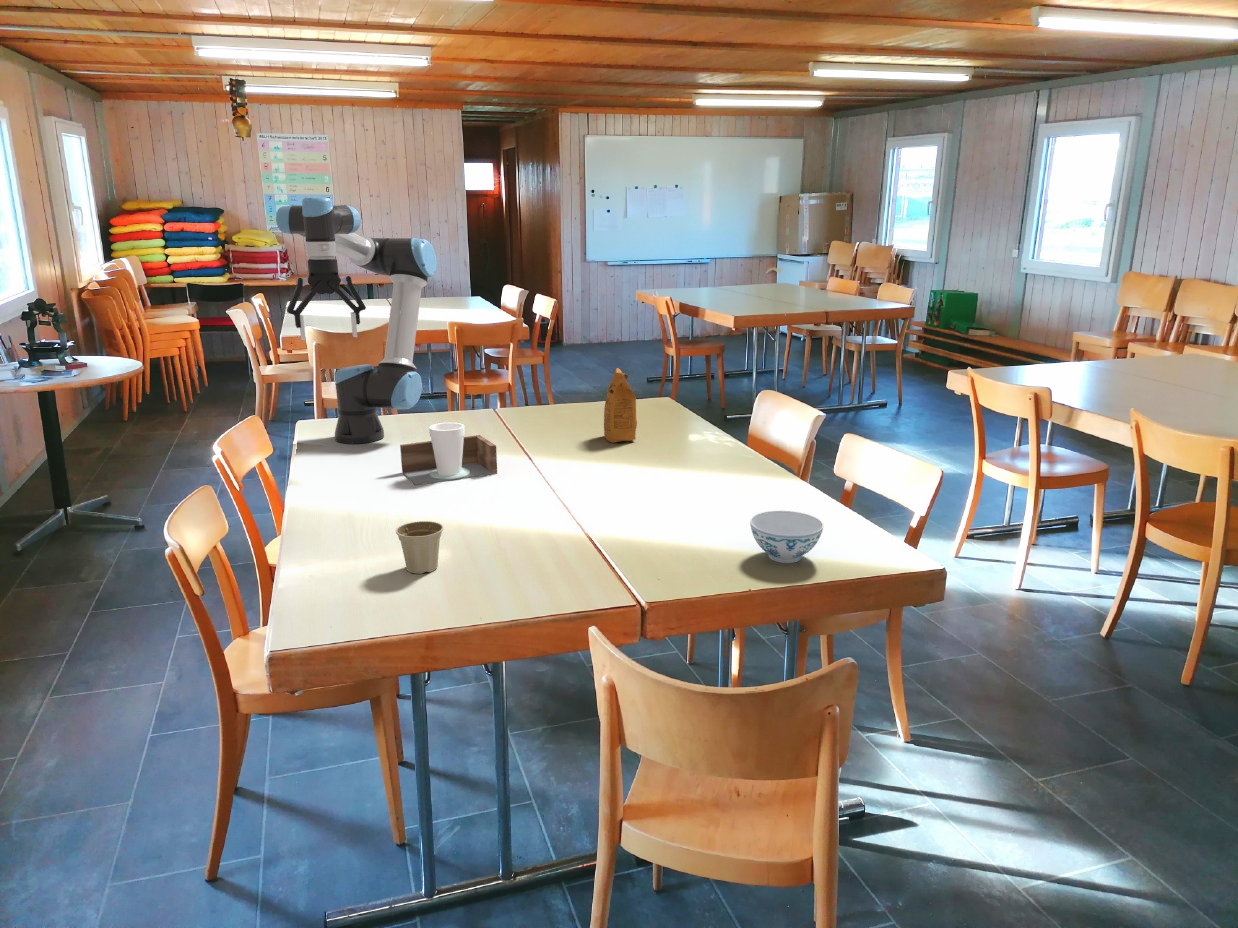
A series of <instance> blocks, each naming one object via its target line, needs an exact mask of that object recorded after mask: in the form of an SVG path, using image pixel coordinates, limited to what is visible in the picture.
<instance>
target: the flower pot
mask: <svg viewBox="0 0 1238 928" xmlns="http://www.w3.org/2000/svg"><path fill="white" fill-rule="evenodd" d="M443 531H444V525H443V524H442V523H440V522H438V521H437V522H436V521H433V520H432V521H431V520H425V521H424V520H422V521H421V520H418V521H413V522H412V521H411V522H407V523H404V524H401V525H399V526H398V527H397V528H396V529H395V534H396V535H397V536H398V540H399V541H400V544H401V548H402V554H403V557H404V558H403V559H404V562H405V567H406V568H405V569H406V570H407V571H408V572H409V573H411V574H417V575H421V574H424V573H427V572H428V573H431V572H434V571H436V570H437V569H438V567H439V553H440V552H439V551H440V542H441V541H440V540H441V537H442V533H443Z"/></svg>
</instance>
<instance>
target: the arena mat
mask: <svg viewBox="0 0 1238 928" xmlns="http://www.w3.org/2000/svg"><path fill="white" fill-rule="evenodd" d="M403 475H404V476H405V477H406V478H408V480H409V481H410V482H411V483H412V484H413V485H414V486H421V485H427V484H428V485H429V484H434V483H436V484H437V483H443V482H447V481H448V482H449V481H454V480H455V481H456V480H462V479H468V478H475V477H481V476H482V477H484V476H489V475H491V476H492V475H493V474H492V472H490V471H489V470H487V469H486V468H485V467H483V466H482V465H481V464H479V463H478V462H477V463H469V464H462V467H461V473H460V474H457V475H452V476H443V475H439V474H438V471H437V468H433V469H426V470H418V471H411V472H404V474H403Z"/></svg>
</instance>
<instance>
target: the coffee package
mask: <svg viewBox="0 0 1238 928" xmlns="http://www.w3.org/2000/svg"><path fill="white" fill-rule="evenodd" d="M627 379H629V375H628V374H627V373H625V372H624V373H623V371H622V370H621V369H620V368H619V367H616V368H615V371H614V373H613V376H612V377H611V381H610V383H609V385H608V388H607V391H606V399H605V403H604V408H603V409H604V411H603V435H604V438H605V440H606V441H608V442H610V443H613V444H615V443H619V442H630V441H635V440H636V435H637V434H636V433H637V432H636V431H637V427H638V426H637V425H638V419H637V398H636V395H635V393H634V391H633V390H632V388H631V386H630V385H629V383H628V381H627Z"/></svg>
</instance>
